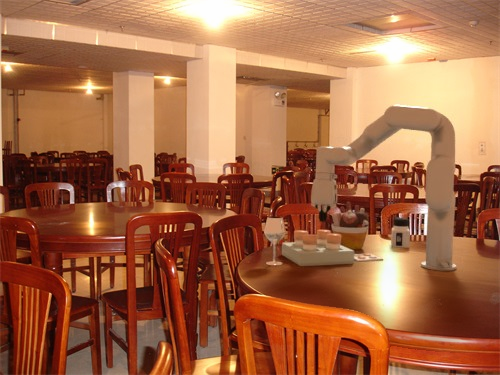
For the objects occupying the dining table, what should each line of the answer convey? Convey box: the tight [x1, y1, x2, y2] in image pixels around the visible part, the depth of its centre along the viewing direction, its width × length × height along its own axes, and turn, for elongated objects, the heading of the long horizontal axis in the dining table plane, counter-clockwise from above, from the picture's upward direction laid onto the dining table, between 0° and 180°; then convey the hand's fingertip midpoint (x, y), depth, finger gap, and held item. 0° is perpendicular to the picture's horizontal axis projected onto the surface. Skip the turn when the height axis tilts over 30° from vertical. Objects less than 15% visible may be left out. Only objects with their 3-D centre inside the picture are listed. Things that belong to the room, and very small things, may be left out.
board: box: [281, 241, 355, 267], centre depth 220 cm, size 22×22×5 cm
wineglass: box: [263, 215, 287, 267], centre depth 210 cm, size 8×8×18 cm
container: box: [390, 217, 411, 249], centre depth 252 cm, size 8×8×13 cm
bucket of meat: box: [330, 201, 370, 251], centre depth 245 cm, size 20×16×20 cm
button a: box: [327, 233, 341, 250], centre depth 217 cm, size 6×6×7 cm
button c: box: [303, 233, 317, 251], centre depth 214 cm, size 6×6×7 cm
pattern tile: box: [354, 253, 384, 262], centre depth 224 cm, size 11×11×1 cm
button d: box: [293, 229, 309, 247], centre depth 224 cm, size 6×6×7 cm
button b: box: [316, 229, 332, 246], centre depth 226 cm, size 6×6×7 cm
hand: (322, 221), depth 226 cm, fingers closed
